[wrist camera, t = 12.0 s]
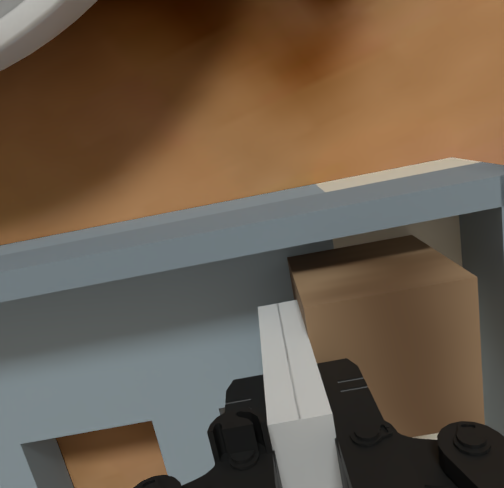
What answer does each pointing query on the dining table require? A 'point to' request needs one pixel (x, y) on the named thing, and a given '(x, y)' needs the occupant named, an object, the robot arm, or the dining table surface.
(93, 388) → the box
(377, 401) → the block
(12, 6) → the bowl
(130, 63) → the dining table surface
